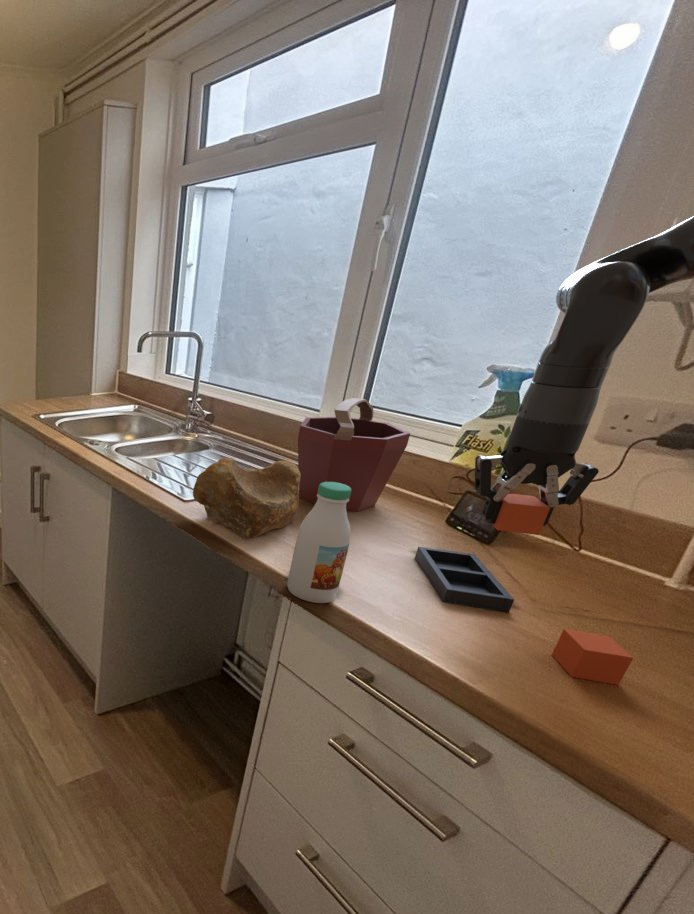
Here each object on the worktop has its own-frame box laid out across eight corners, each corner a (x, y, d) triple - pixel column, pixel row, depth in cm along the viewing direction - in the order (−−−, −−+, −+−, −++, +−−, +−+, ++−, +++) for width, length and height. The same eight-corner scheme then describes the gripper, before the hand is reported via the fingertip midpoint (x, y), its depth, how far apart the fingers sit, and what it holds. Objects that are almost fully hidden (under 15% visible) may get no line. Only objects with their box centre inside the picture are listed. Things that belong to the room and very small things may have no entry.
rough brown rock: (211, 550, 109) (227, 485, 102) (182, 513, 124) (193, 453, 117) (316, 547, 111) (338, 483, 104) (275, 511, 126) (291, 453, 119)
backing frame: (470, 565, 100) (474, 553, 99) (509, 612, 86) (514, 599, 85) (414, 557, 104) (418, 546, 103) (442, 602, 89) (447, 589, 88)
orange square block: (523, 522, 83) (533, 495, 81) (539, 535, 78) (550, 507, 77) (484, 518, 84) (493, 492, 83) (497, 530, 80) (508, 503, 78)
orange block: (596, 662, 74) (609, 635, 73) (619, 685, 70) (633, 657, 68) (551, 654, 76) (563, 628, 74) (571, 676, 72) (584, 649, 70)
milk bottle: (287, 599, 90) (311, 490, 83) (284, 578, 97) (306, 475, 89) (339, 608, 87) (368, 496, 80) (332, 585, 94) (358, 480, 86)
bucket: (348, 523, 119) (375, 414, 109) (262, 493, 136) (280, 397, 127) (404, 502, 130) (433, 401, 121) (318, 477, 148) (338, 388, 138)
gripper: (502, 418, 74) (464, 527, 80) (637, 425, 69) (585, 541, 76) (480, 407, 81) (447, 509, 87) (602, 414, 76) (557, 521, 82)
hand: (511, 523), depth 81 cm, fingers closed on orange square block, 5 cm apart
